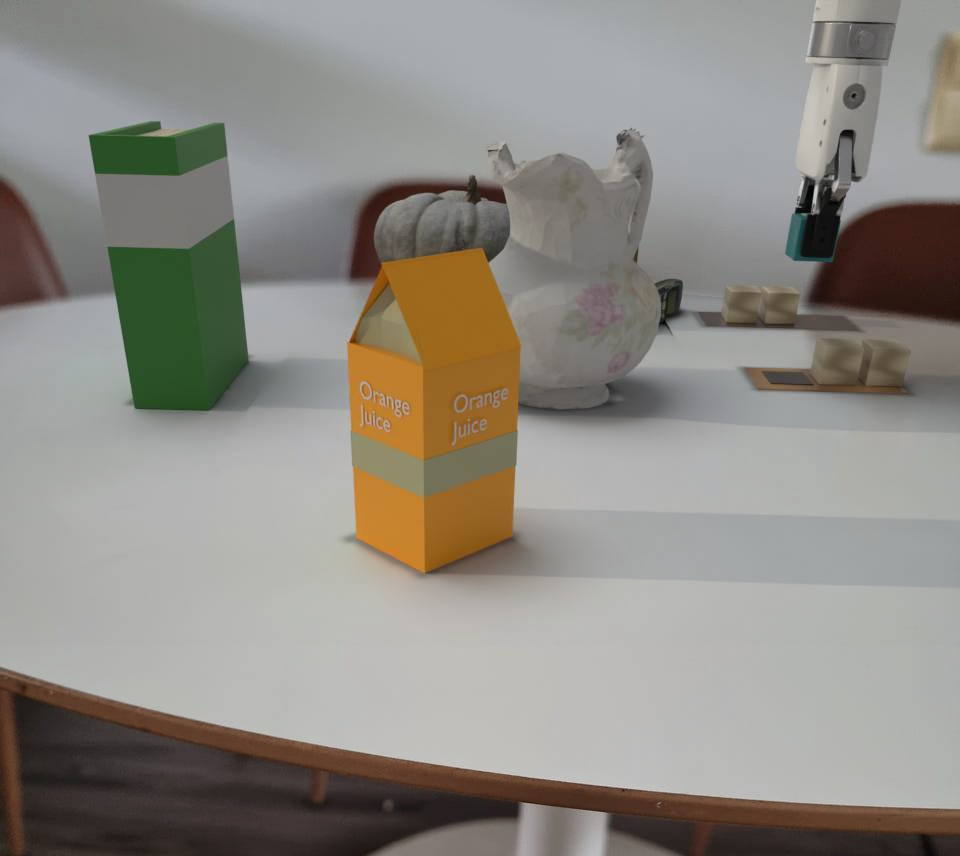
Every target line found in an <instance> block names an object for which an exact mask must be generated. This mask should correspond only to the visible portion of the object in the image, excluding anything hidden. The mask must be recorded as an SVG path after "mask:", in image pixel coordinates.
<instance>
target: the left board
mask: <svg viewBox="0 0 960 856" xmlns="http://www.w3.org/2000/svg"><path fill="white" fill-rule="evenodd" d="M800 298H801V292H799V291H798V290H797V289H795V287H793V286H772V285H763V286H762V291H761V290H760V288H758V287H757V286H756V285H738V284H737V285H736V284H726V285H725V287H724V294H723V301H722V308H721V311H720V312H719V311H696V314H697V315H698V316H699V318H700V319H701V321H702V322H703V323H704V326H705V327H715V328H716V327H721V328H753V329H756V328H757V329H787V330H789V329H790V330H819V331H820V330H823V331H826V330H828V331H856V332H857V331H860V329H859V328H858V327H856V326H855V325H854V324H853V323H852V322H851V321H849V320H848V319H847V318H845V316H843V315H827V314H825V315H824V314H798V308H799V303H800Z"/></svg>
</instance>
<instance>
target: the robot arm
mask: <svg viewBox="0 0 960 856" xmlns="http://www.w3.org/2000/svg"><path fill="white" fill-rule="evenodd" d="M901 5H902V0H816V1H815V5H814V11H813V17H812V23H811V28H810V33H809V40H808V44H807V51H806V57H805V62H804V64H813V68H812V73H811V78H810V81H809V84H808V90H807V94H806V99H805V104H804V108H803V114H802V118H801V124H800V129H799V134H798V140H797V144H796V145H797V146H796V152H795V162H794V165H795V169H796V170H797V172H799V173H800V177H801V180H800V182H799V189H798V193H797V196H796V204H795V205H796V206H795V209H794V213H797V214H801V213H808V214H807V219H806V224H805V229H804V235H803V240H802V245H801V251H800V254H801V256H803V257H810V258H831V257H832V256H833V252H834V247H835V242H836V237H837V232H838V228H839V223H840V220H841V219H842V214H843V211H844V203H845V199H846V197H847V193H848V192H849V191H850V188H851V185H852V182H853V183H861V182H863V180H865V178H867V175H868V171H869V165H870V160H871V154H872V150H873V145H874V144H873V142H874V137H875V131H876V125H877V120H878V114H879V107H880V106H879V105H880V99H881V91H882V82H883V81H882V79H883V67H888V66H889V61H890V56H891V51H892V48H893V47H892V46H893V43H894V38H895V32H896V28H897V22H898V18H899V13H900V9H901ZM832 178H833V179H832ZM840 224H841V223H840ZM839 229H840V228H839Z"/></svg>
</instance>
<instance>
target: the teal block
mask: <svg viewBox="0 0 960 856" xmlns="http://www.w3.org/2000/svg"><path fill="white" fill-rule="evenodd" d="M807 214H808V213H801V214H797V213H795V212H794V213H791V217H790V223H789V228H788V234H787V240H786V245H785V249H784V250H785V251H784V255H786V256H787V257H788V258H790V259H791V260H792V261H794V262H812V263H813V262H814V263H815V262H816V263H817V262H818V263H833V262H834V257H835V253H836V252H835V251H836V247H837V242H838V238H839V234H840V228H841V223H842V219H840V223H839V228H838V232H837V237H836V242H835V247H834V252H833V256H832V257H831V258H810V257H803V256H801V254H800V251H801V245H802V240H803V235H804V229H805V224H806V219H807Z"/></svg>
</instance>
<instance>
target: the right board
mask: <svg viewBox="0 0 960 856" xmlns="http://www.w3.org/2000/svg"><path fill="white" fill-rule="evenodd" d="M911 354H912V349H911V348H909V347H908V346H907V345H905V344H904V343H903V342H901V340H899V339H898V340H897V339H865V338H864V339H862V340H861V345H860V344H859V343H858V342H857V341H856V340H855V339H853V338H832V337H830V338H829V337H828V338H827V337H817V338H816V340H815V346H814V352H813V356H812V361H811V366H810V368H785V367H784V368H779V367H751V366H750V367H749V366H747V367H745V366H744V367H743V368H742V369H743V370H744V372H745V373H746V375H747V376H748V378H749V379H750V380H751V382H752V383H753V384H754V386H755V387H756V389H757V390H759V391H782V392H783V391H785V392H786V391H789V392H820V393H822V392H823V393H853V394H854V393H855V394H886V395H887V394H889V395H908V394H909V392H908V391H907V390H906V389H905V388H904V387H903V384H904V381H905V376H906V374H907V369H908V365H909V361H910V357H911Z"/></svg>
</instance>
